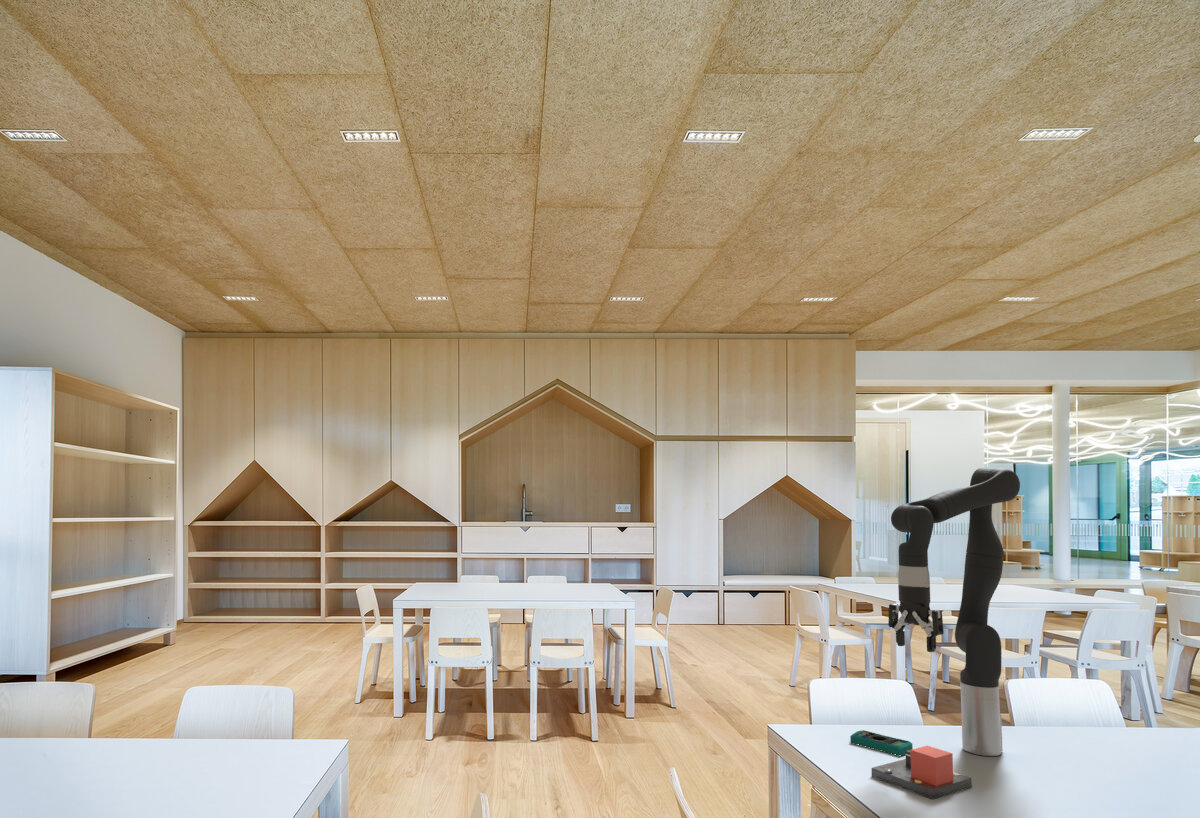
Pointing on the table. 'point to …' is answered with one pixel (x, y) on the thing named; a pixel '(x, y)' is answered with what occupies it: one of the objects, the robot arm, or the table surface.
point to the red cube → (932, 765)
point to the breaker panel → (918, 780)
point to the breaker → (908, 757)
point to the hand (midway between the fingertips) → (915, 648)
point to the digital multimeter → (881, 742)
